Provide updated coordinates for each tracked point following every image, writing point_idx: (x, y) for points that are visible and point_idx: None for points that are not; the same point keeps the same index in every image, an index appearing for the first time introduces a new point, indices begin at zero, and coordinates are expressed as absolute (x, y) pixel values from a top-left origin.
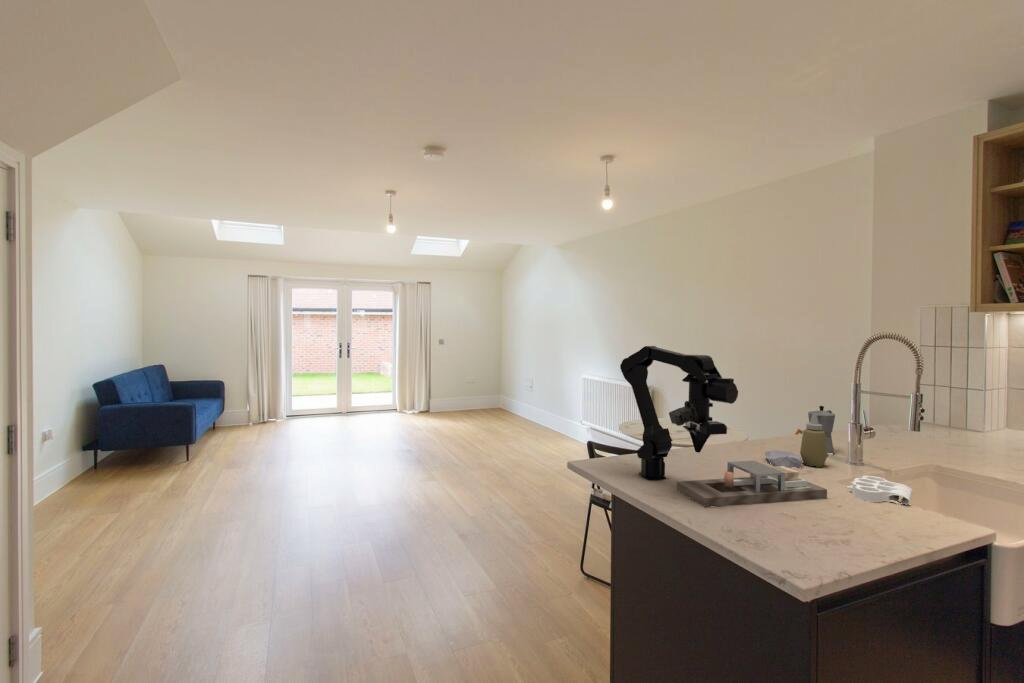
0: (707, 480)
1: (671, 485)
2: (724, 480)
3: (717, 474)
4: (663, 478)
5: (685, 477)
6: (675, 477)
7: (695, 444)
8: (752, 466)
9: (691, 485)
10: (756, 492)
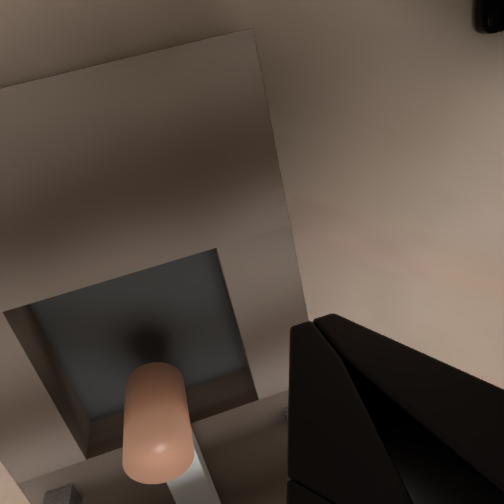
0: (283, 284)
1: (341, 25)
2: (157, 385)
3: (492, 366)
4: (477, 5)
5: (482, 186)
6: (494, 119)
7: (344, 396)
8: None
9: (151, 130)
10: (45, 498)
